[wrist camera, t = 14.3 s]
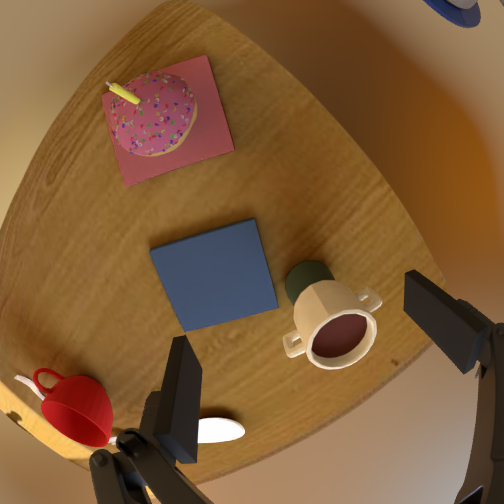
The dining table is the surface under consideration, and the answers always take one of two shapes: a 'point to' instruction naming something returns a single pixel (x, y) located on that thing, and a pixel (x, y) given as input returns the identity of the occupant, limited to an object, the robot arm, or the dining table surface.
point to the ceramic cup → (77, 408)
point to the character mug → (329, 317)
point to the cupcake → (152, 113)
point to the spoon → (214, 430)
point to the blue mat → (216, 275)
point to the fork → (30, 385)
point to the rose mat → (199, 138)
